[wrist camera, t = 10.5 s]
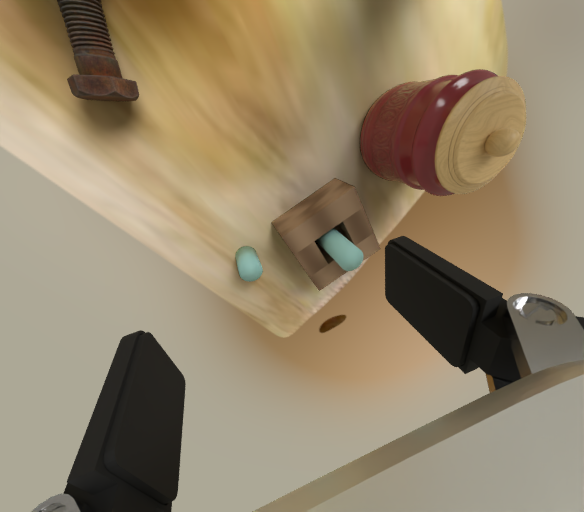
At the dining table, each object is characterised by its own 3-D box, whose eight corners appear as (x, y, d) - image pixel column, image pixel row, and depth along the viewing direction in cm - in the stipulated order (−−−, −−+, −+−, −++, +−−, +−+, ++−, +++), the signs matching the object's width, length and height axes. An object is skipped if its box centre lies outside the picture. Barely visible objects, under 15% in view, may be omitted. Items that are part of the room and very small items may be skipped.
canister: (442, 90, 37) (599, 70, 22) (415, 179, 43) (526, 209, 28) (368, 76, 33) (500, 42, 18) (350, 176, 39) (438, 210, 24)
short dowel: (253, 243, 39) (259, 258, 35) (258, 261, 41) (264, 277, 37) (232, 249, 39) (236, 265, 35) (238, 267, 41) (242, 284, 36)
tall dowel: (327, 217, 41) (363, 245, 32) (329, 235, 43) (363, 266, 34) (308, 222, 41) (339, 252, 31) (311, 240, 42) (341, 274, 33)
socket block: (334, 178, 38) (354, 186, 33) (360, 234, 45) (380, 248, 40) (271, 222, 39) (281, 237, 34) (306, 272, 45) (319, 290, 40)
